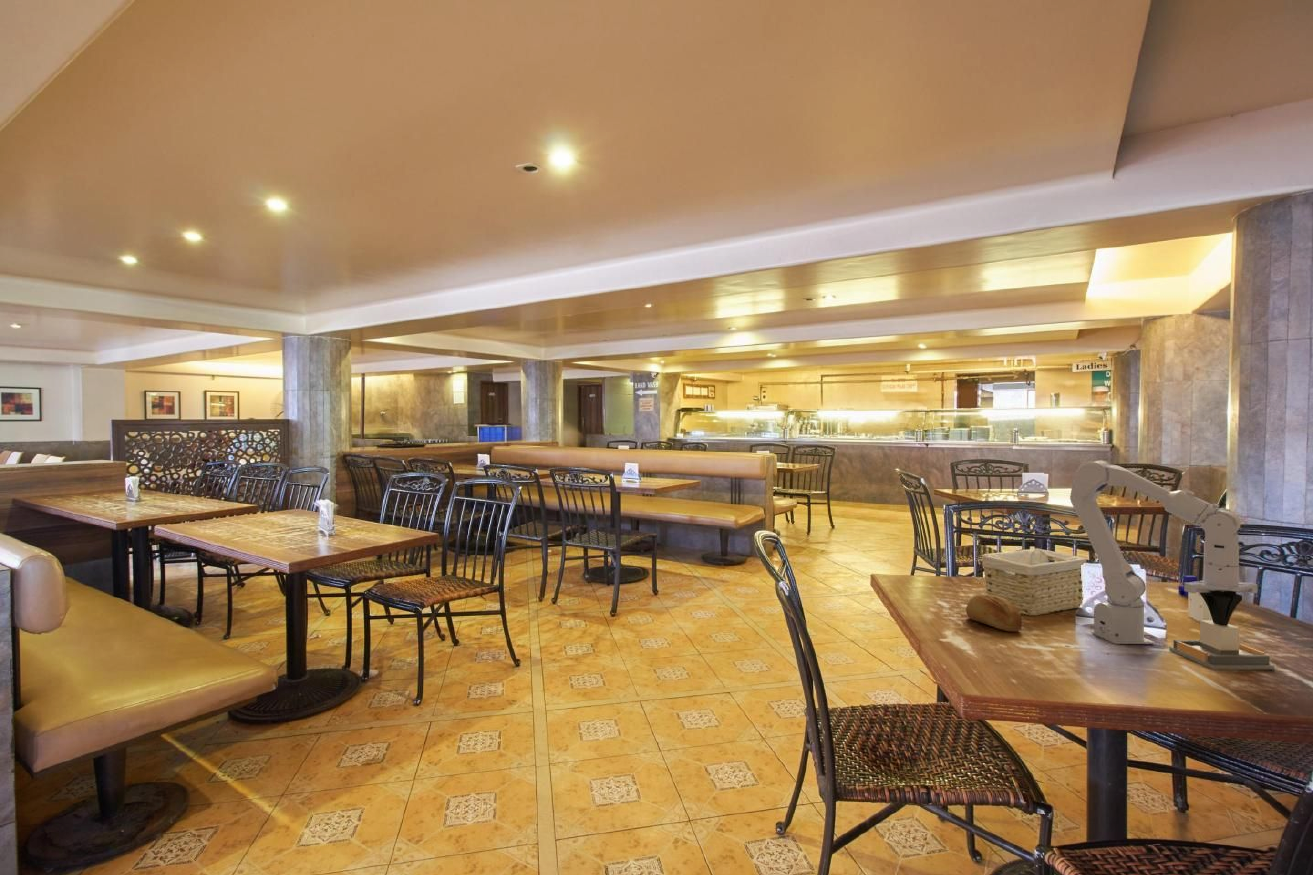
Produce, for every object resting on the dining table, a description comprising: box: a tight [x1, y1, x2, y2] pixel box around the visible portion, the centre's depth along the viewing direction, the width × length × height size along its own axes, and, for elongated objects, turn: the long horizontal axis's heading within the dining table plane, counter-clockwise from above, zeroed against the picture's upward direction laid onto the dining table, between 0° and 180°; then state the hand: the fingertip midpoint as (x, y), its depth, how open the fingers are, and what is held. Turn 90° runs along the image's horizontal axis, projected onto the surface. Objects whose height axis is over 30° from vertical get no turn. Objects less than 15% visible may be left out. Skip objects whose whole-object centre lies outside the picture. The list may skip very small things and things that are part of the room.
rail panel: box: [1169, 639, 1275, 670], centre depth 133 cm, size 13×11×3 cm
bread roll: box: [965, 593, 1023, 632], centre depth 156 cm, size 10×15×8 cm, turn 20°
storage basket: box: [981, 548, 1087, 617], centre depth 174 cm, size 24×16×15 cm
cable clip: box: [1178, 575, 1198, 598], centre depth 179 cm, size 12×4×6 cm, turn 3°
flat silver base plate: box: [1192, 646, 1254, 661], centre depth 133 cm, size 11×6×1 cm, turn 90°
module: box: [1199, 620, 1240, 655], centre depth 133 cm, size 4×5×6 cm
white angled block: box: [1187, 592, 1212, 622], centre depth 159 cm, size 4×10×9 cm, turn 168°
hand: (1220, 624), depth 133 cm, fingers closed, pressing on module
